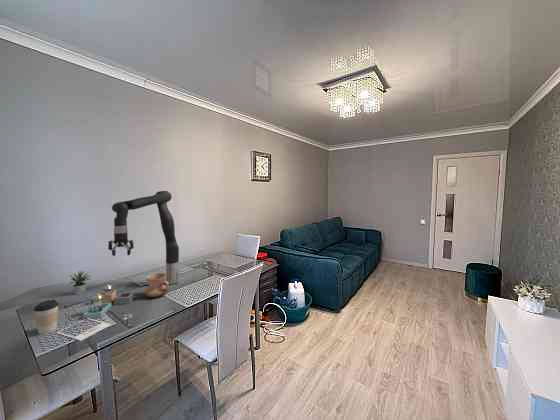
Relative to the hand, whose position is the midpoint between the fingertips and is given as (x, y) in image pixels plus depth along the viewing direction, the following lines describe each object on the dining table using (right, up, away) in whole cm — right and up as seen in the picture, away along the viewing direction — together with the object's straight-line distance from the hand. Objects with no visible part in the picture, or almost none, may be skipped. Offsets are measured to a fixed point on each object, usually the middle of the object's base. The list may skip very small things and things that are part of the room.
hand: (121, 255), depth 156 cm
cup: (-7, -30, -4) cm, 31 cm away
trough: (-2, -31, -18) cm, 36 cm away
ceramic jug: (+20, -30, +8) cm, 37 cm away
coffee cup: (-14, -32, -36) cm, 50 cm away
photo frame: (+4, -33, -35) cm, 48 cm away
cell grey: (-7, -29, -4) cm, 30 cm away
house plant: (-35, -29, +7) cm, 46 cm away
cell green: (-2, -31, -18) cm, 35 cm away
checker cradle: (+4, -30, -2) cm, 31 cm away
